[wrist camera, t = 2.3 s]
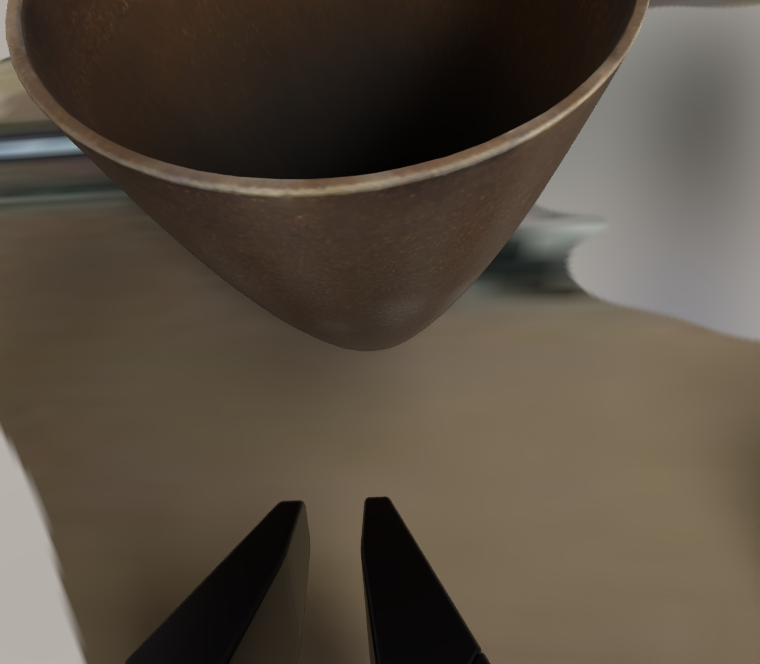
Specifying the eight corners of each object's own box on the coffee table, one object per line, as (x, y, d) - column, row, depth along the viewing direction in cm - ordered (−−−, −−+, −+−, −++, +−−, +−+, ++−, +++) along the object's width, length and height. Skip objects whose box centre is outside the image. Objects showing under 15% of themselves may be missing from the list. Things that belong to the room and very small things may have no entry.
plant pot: (184, 254, 27) (-60, -88, 13) (405, 141, 30) (409, -242, 16) (313, 487, 22) (139, 344, 7) (569, 320, 25) (809, -17, 10)
